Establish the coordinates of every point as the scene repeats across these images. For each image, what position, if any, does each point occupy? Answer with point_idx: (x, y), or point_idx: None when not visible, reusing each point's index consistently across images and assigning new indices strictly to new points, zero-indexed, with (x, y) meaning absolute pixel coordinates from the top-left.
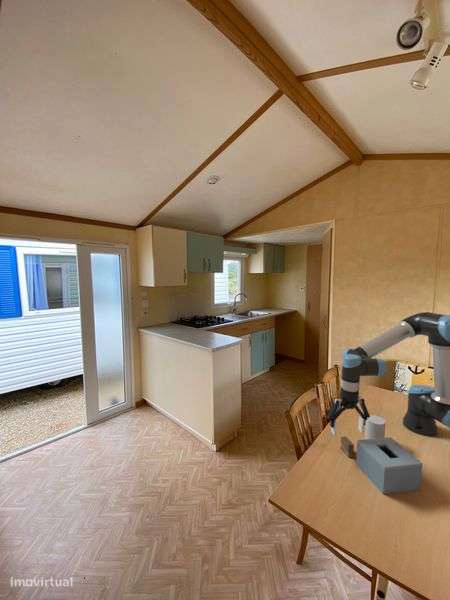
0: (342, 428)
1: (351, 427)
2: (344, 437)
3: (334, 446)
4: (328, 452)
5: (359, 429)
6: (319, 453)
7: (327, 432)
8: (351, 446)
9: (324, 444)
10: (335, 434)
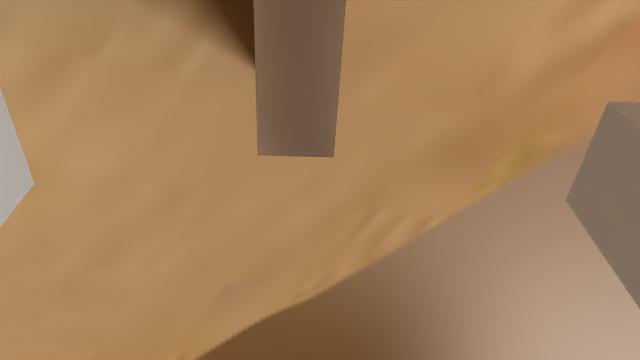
0: (140, 307)
1: (48, 308)
2: (293, 140)
3: (369, 120)
4: (501, 49)
5: (6, 166)
6: (606, 51)
7: (308, 284)
8: None
9: (449, 160)
10: (625, 110)
